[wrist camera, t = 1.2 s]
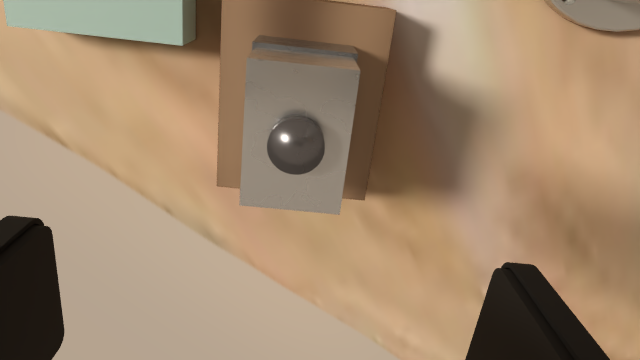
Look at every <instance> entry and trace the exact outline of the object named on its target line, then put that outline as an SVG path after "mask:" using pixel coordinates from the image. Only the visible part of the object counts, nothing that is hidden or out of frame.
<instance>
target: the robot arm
mask: <svg viewBox="0 0 640 360" xmlns="http://www.w3.org/2000/svg"><path fill="white" fill-rule="evenodd" d="M545 2H546V3H547V4H548V5H549V6H550V7H551V8H552V9H553V10H555V11H556V12H557V13H558V14H560V15H561V16H562V17H564V18H566V19H568V20H570V21H572V22H574V23H576V24H578V25H580V26H584V27H589V28H593V29H597V30H605V31H614V32H620V31H633V30H640V0H545ZM63 337H64V324H63V316H62V308H61V300H60V292H59V284H58V275H57V267H56V260H55V251H54V243H53V235H52V230H51V229H50V228H49V227H48V226H44V223H43V222H42V221H41V220H40V219H39V218H28V217H18V216H6V217H5V218H3V219H2V220H0V360H52V358H53V357H54V355H55V354H56V352H57V351H58V350H59V348H60V346H61V344H62V341H63ZM465 360H610V359H609V358H608V356H607V355H606V354H605V353H604V351H603V350H602V349H601V348H600V346H599V345H598V344H597V343H596V341H595V340H594V339H593V338H592V336H591V335H590V334H589V332H588V331H587V330H586V329H585V327H584V326H583V325H582V324H581V322H580V321H579V320H578V319H577V317H576V316H575V315H574V314H573V312H572V311H571V310H570V309H569V307H568V306H567V305H566V304H565V302H564V301H563V300H562V299H561V297H560V296H559V295H558V294H557V292H556V291H555V290H554V289H553V287H552V286H551V285H550V283H549V282H548V281H547V280H546V278H545V277H544V276H543V275H542V273H541V272H540V271H539V270H538V268H537V267H536V266H534V265H531V264H520V263H510V262H507V263H504V264H503V266H502V267H501V268H497V269H495V271H494V272H493V275H492V278H491V281H490V284H489V287H488V290H487V293H486V297H485V300H484V303H483V306H482V309H481V312H480V315H479V319H478V322H477V325H476V328H475V331H474V334H473V337H472V341H471V344H470V347H469V350H468V353H467V356H466V359H465Z"/></svg>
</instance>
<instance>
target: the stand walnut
mask: <svg viewBox="0 0 640 360" xmlns="http://www.w3.org/2000/svg"><path fill="white" fill-rule="evenodd" d="M395 16H396V10H393V9H390V8H386V7H377V6H369V5H361V4H353V3H344V2H336V1H328V0H222V12H221V49H220V85H219V122H218V159H217V186H219V187H229V188H240V184H241V164H242V144H243V123H244V103H245V83H246V63H247V57H248V56H249V55H250V53H251V52H252V42H253V41H254V40H255V39H256V38H257V37H258V36H259V35H264V36H272V37H281V38H290V39H298V40H307V41H316V42H324V43H333V44H342V45H350V46H353V47H354V48H355V50H356V51H357V53H358V59H357V65H358V67H359V69H360V70H361V71H360V78H359V85H358V92H357V99H356V105H355V112H354V119H353V126H352V133H351V140H350V146H349V153H348V160H347V167H346V174H345V181H344V187H343V194H342V198H344V199H355V200H365V195H366V189H367V183H368V177H369V171H370V165H371V159H372V153H373V147H374V141H375V135H376V129H377V123H378V118H379V112H380V106H381V100H382V94H383V88H384V82H385V76H386V70H387V64H388V58H389V52H390V46H391V40H392V34H393V28H394V22H395Z"/></svg>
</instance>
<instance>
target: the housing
mask: <svg viewBox="0 0 640 360" xmlns="http://www.w3.org/2000/svg"><path fill="white" fill-rule="evenodd" d="M357 59H358V53H357V51H356V50H355V48H354V47H353V46H350V45H342V44H333V43H324V42H316V41H307V40H298V39H290V38H281V37H272V36H264V35H259V36H258V37H257V38H256V39H255V40H254V41H253V42H252V52H251V53H250V55H249V56H248V57H247V63H246V83H245V103H244V123H243V144H242V164H241V184H240V204H239V205H242V206H253V207H263V208H274V209H285V210H296V211H306V212H317V213H328V214H338V215H340V208H341V201H342V194H343V187H344V181H345V174H346V167H347V160H348V153H349V146H350V140H351V133H352V126H353V119H354V112H355V105H356V99H357V92H358V85H359V78H360V71H361V70H360V69H359V67H358V65H357Z"/></svg>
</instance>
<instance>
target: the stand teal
mask: <svg viewBox="0 0 640 360" xmlns="http://www.w3.org/2000/svg"><path fill="white" fill-rule="evenodd" d="M3 1H4V8H5V15H6V21H7V26H12V27H21V28H30V29H39V30H48V31H56V32H65V33H74V34H83V35H92V36H101V37H109V38H118V39H127V40H136V41H145V42H154V43H162V44H171V45H180V46H183V45H185V44H187V43H189V42H191V41H193V40H195V39H196V0H3Z"/></svg>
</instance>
